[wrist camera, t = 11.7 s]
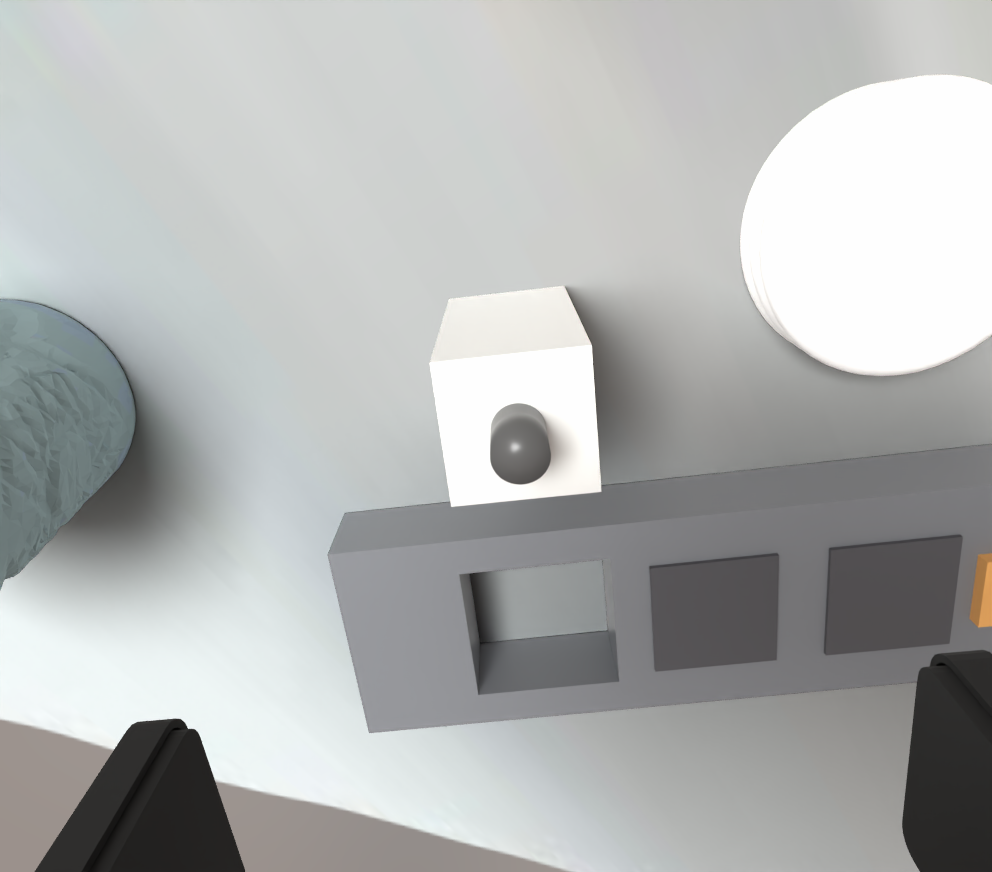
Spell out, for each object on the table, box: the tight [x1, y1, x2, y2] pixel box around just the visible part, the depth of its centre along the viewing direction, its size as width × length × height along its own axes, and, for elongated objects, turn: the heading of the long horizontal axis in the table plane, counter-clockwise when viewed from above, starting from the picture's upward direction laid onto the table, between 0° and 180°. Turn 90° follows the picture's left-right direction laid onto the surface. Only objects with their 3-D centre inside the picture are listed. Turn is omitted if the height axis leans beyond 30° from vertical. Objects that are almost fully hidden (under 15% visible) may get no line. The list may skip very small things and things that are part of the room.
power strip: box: [328, 444, 992, 733], centre depth 31 cm, size 28×9×4 cm, turn 97°
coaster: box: [740, 74, 992, 376], centre depth 26 cm, size 10×10×4 cm
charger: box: [430, 286, 601, 507], centre depth 25 cm, size 4×4×11 cm
